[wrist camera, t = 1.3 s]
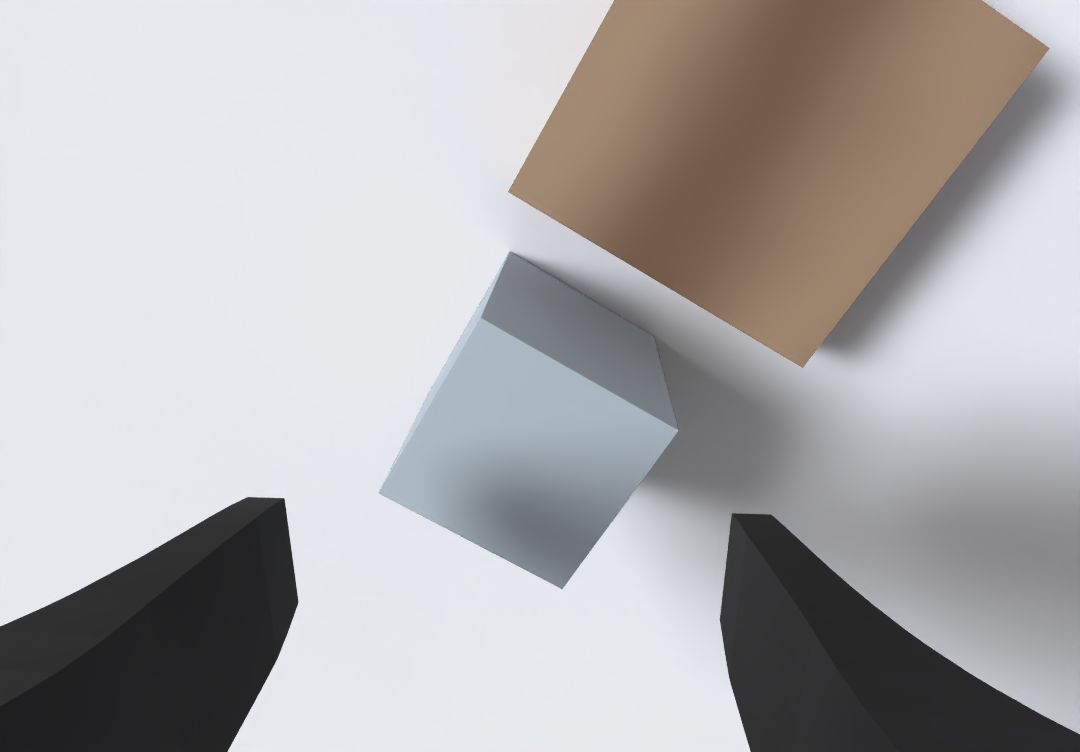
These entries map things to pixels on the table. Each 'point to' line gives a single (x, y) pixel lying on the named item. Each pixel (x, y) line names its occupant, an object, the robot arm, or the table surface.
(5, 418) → the table surface
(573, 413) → the grey block
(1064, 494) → the table surface
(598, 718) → the table surface
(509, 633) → the table surface
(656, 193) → the walnut base
